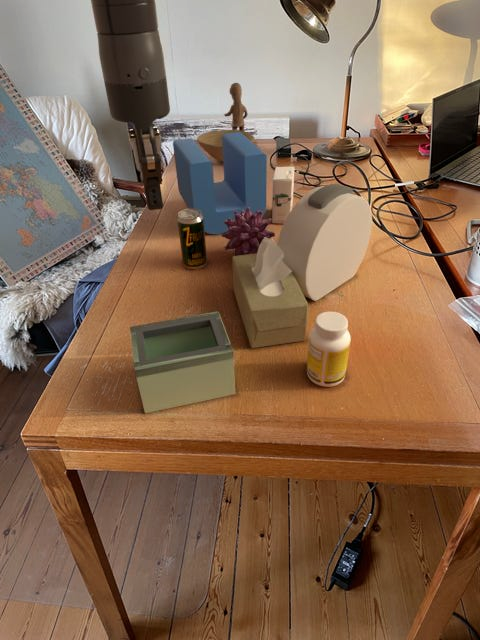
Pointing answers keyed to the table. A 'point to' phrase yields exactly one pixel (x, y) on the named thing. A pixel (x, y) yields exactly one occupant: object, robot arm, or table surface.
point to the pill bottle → (328, 349)
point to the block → (233, 192)
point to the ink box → (282, 194)
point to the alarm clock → (326, 238)
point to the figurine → (237, 108)
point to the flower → (246, 232)
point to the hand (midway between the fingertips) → (155, 207)
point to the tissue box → (269, 297)
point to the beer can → (192, 238)
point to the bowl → (217, 142)
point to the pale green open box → (182, 361)
